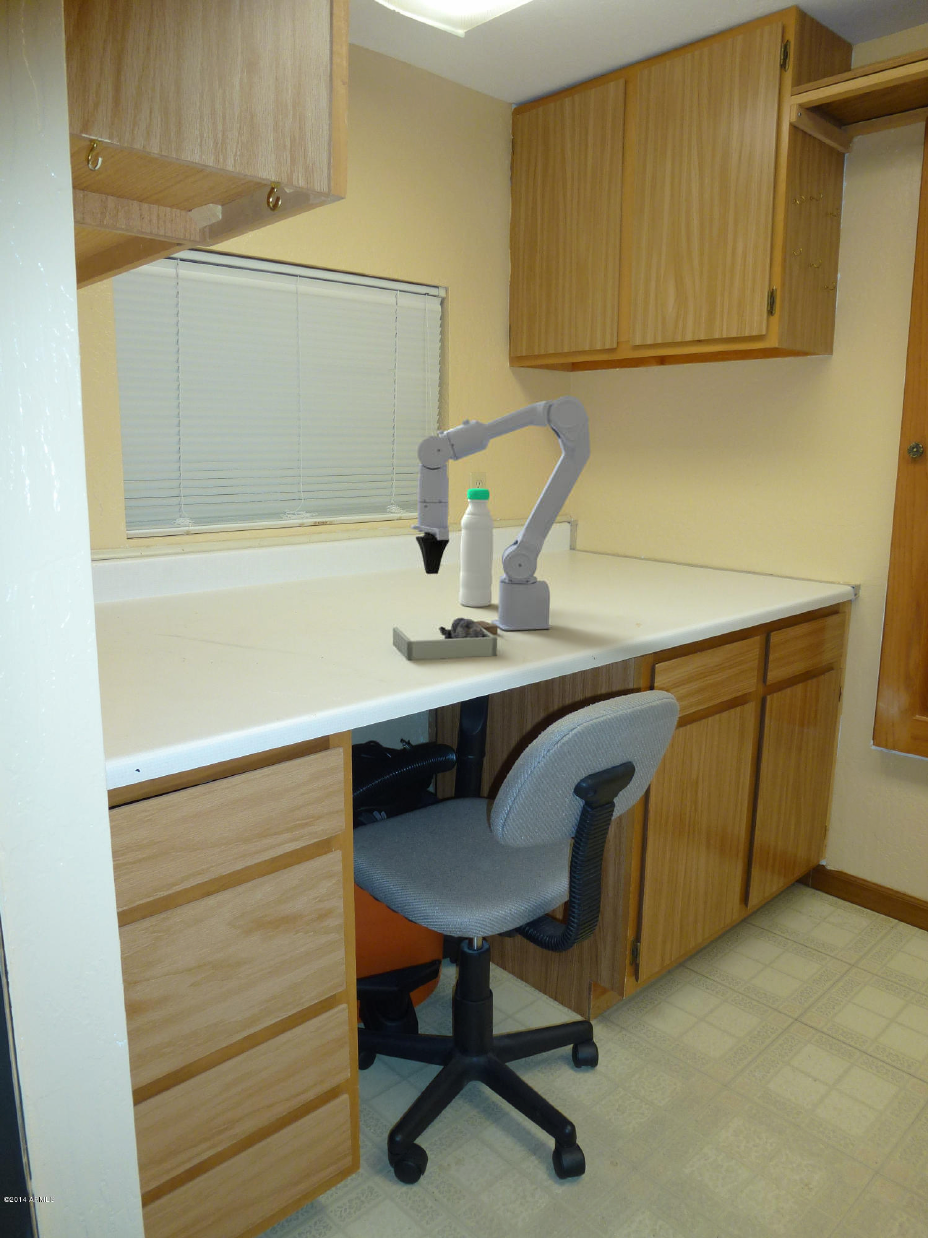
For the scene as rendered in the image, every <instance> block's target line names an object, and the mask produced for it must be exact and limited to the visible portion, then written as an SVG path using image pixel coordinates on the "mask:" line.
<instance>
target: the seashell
mask: <svg viewBox="0 0 928 1238" xmlns="http://www.w3.org/2000/svg"><path fill="white" fill-rule="evenodd" d="M438 630H439V633H440V635H441V636H444V638H443V639H460V638H482V637H486V635H485V634H484V632H483V630H482V628H481V627H479V626H478V625H477V624H476V623H475V621H474V620H473V619H470V618H464V617H457V618H455V619H454V620H453V621H452V623H451V626H450V629H447V628H446V627H444V626H439V628H438Z"/></svg>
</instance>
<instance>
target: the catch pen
mask: <svg viewBox="0 0 928 1238" xmlns="http://www.w3.org/2000/svg"><path fill="white" fill-rule="evenodd" d="M478 626H479V625H478ZM479 627H480V626H479ZM481 628H482V627H481ZM482 630H483V632H484V634H485V635H486V637H482V638H460V639H444V638H443V639H442V638H441V639H438V638H437V639H421V640H420V639H419V640H411V639H410V637H408V635H406V634H405V633H404V631H402V630H401V629H400V628H399V627H398V626H393V627H392V645H393V646H394V647H395V649H396V650H398V652H399V653H400V654H401V655H402V656H403V657H404V658H405V660H407V661H413V660H414V661H415V660H433V659H434V660H435V659H436V660H437V659H438V660H439V659H456V658H474V657H475V658H477V657H492V656H493V657H494V656H495V657H496V656H497V655H498V637H497V636H495V635H492V634H491V633H489V632H488V631H486V630H485V629H483V628H482Z"/></svg>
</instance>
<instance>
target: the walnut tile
mask: <svg viewBox="0 0 928 1238" xmlns="http://www.w3.org/2000/svg"><path fill="white" fill-rule="evenodd" d="M474 622H475V623H476V624H477V625H479V626H480V627H482V628H483V629H485V630H486V631H488V632H489V633H491V634H492V635H494V636H495V635H498V628H499V627H498V626H497V625H495V624H493V623H492V622H488V621H484V620H477V621H474Z"/></svg>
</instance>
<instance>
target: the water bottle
mask: <svg viewBox="0 0 928 1238" xmlns="http://www.w3.org/2000/svg"><path fill="white" fill-rule="evenodd" d="M466 497H467V502H468V506H467V509H466V510H465V513H464V514H463V517H462V519H461V521H460V527H461V535H460V556H459V557H460V558H459V559H460V575H459V585H460V587H459V597H458V601H459V604H461V605H462V606H464V607H468V608H469V607H471V608H483V607H488V606H490V605H491V604H492V600H493V598H492V595H493V594H492V591H493V590H492V584H493V573H492V571H493V570H492V569H493V560H494V530H493V529H494V528H495V521H494V519H493V517H492V515H491V511H490V509H489V507H488V502H489V500H490V490H489V489H487V488H481V487H480V488H478V487H477V488H469V489H468V490H467V492H466Z"/></svg>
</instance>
